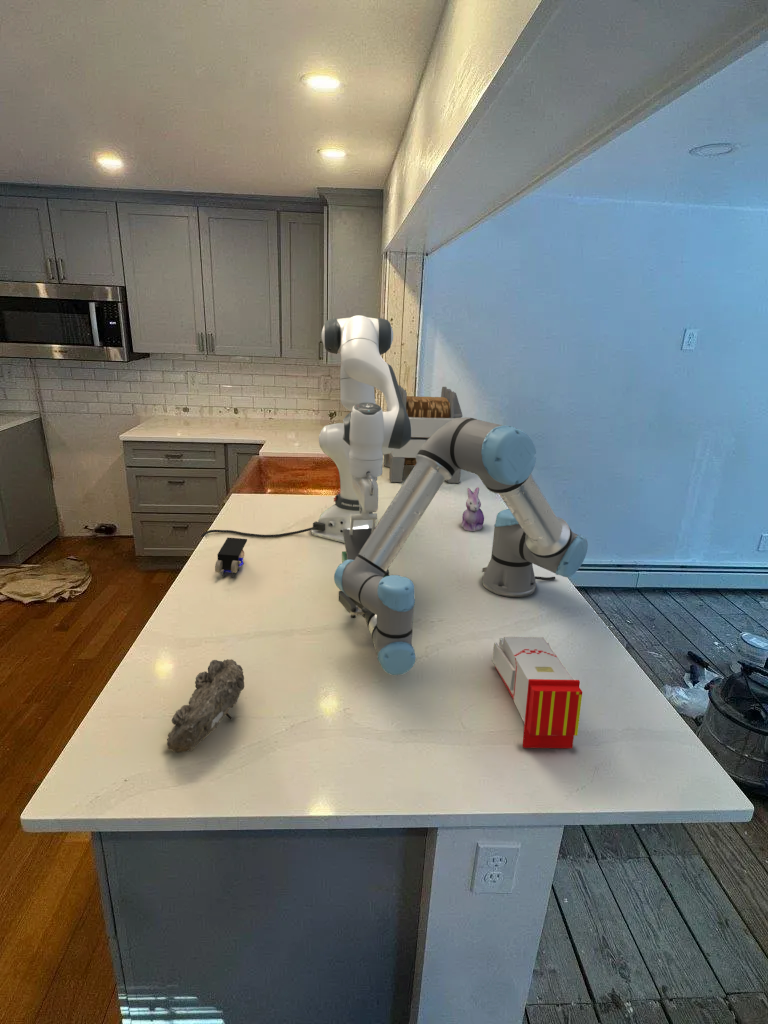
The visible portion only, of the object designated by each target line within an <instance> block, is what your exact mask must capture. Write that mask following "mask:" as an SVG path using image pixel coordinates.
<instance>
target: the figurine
mask: <svg viewBox="0 0 768 1024" xmlns="http://www.w3.org/2000/svg"><path fill="white" fill-rule="evenodd" d="M466 491H467V493H466V494H467V499H466V501H465V507H466V509H465V510H464V511H463V513H462V516H461V517H462V518H461V519H462V520H461V527H462V528H463V530H464V531H469V532H475V531H480V530H481V529H482V528H484V523H485V515H484V512H483V510H482V509H481V507H482V502H481V499H480V497H479V494H480V488H479V487H478V486H477V487H476V488H475V489H474V490H473V491H472V490H471V488H469V487H468V488H467V489H466Z"/></svg>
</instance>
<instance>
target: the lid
mask: <svg viewBox="0 0 768 1024" xmlns="http://www.w3.org/2000/svg"><path fill="white" fill-rule="evenodd" d="M350 519H351V524H350V529H343V536H344V542H345V543H344V547H345V548H344V549H345V551H346V554H347V559H348V560H355V558H356V557H357V555H358V554H359V552H360V550H361V549H362V547H363V546H364V544H365V543H366V541H367V540H368V538H369V536H370V535H371V533H372V532H373V530H374V529H375V527H376V525H377V524H376V523H377V520H378V513H377V512H373V514H369V519H366V520H373V524H372V528H367V529H353V524H354V520H363V519H362V517H361V514H351V515H350ZM385 575H390V570H389V569H388V570H387V571H386V573H385ZM385 575H384V576H385Z"/></svg>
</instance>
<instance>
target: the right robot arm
mask: <svg viewBox="0 0 768 1024" xmlns="http://www.w3.org/2000/svg"><path fill="white" fill-rule="evenodd" d="M536 454H537V449H536V444H535V443H534V440H533V438H532V437H531V436H530V435H529V434H528V433H527V432H525V431H524V430H521V429H519V428H517V427H514V426H511V425H505V424H500V423H494V422H491V421H485V420H481V419H477V418H474V417H469V416H468V417H467V416H465V417H464V416H463V417H461V418H458V419H455V420H452V421H450V422H448V423H447V424H445V425H443V426H442V427H441V428H439V429H438V430H437V431H436V432H435V433H434V434H433V435H432V436H431V437H430V438H429V439H428V440H427V441H426V442H425V443H424V445H423V446H422V448H421V449H420V450H419V452H418V454H417V455H416V462H417V463H416V465H415V466H413V468H412V470H411V471H410V472H409V474H408V476H407V478H406V479H405V480H404V482H403V483H402V484H401V487H400V488H399V490H398V491H397V493H396V495H395V496H394V497H393V499H392V501H391V502H390V504H389V505H388V507H387V509H386V510H385V511H384V513H383V515H382V516H381V518H380V519H379V521H378V523H377V524H376V525H375V529H374V530H373V532H372V533H371V535H370V536H369V538H368V540H367V541H366V543H365V544H364V546H363V547H362V549H361V550H360V552H359V554H358V555H357V557H356V558H355V560H345V561H344V562H343V563H342V562H341V563H340V564H338V566H337V567H336V569H335V571H334V576H333V580H334V584H335V586H336V587H337V589H339V591H338V599H337V600H338V602H339V603H340V604H341V605H342V606H343V608H344V609H345V610H346V611H347V612H348V613H349V615H350V619H356V618H357V616H362V617H363V618H364V619H365V622H366V625H367V628H368V631H369V635H370V637H371V640H372V643H373V647H374V650H375V652H376V655H377V656H376V657H377V660H378V662H379V665H380V666H381V668H382V670H383V671H384V672H385V673H387V674H389V675H391V676H402V675H405V674H407V673H409V672H410V671H411V670H412V669H413V667H414V666H415V664H416V659H417V656H416V653H415V652H416V651H415V648H414V646H413V642H412V640H413V625H414V624H413V622H414V611H415V603H416V598H415V584H414V581H412V579H410V578H409V577H406V576H401V575H398V574H391V575H390V574H389V576H386V577H384V578H383V576H384V575H385V573H386V571H387V570H389V568H390V566H391V565H392V564H393V562H394V561H395V559H396V557H397V556H398V554H399V553H400V551H401V550H402V548H403V547H404V545H405V543H406V541H407V540H408V538H409V537H410V536H411V533H412V532H413V531H414V529H415V527H416V526H417V524H418V523H419V521H420V519H421V518H422V516H423V515H424V514H425V512H426V510H427V508H428V507H429V506H430V504H431V503H432V501H433V500H434V498H435V497H436V495H437V493H438V491H439V490H440V488H441V487H442V486H443V484H444V482H445V481H446V480H449V479H451V478H452V476H453V474H454V473H455V472H456V471H457V470H458V469H461V471H462V470H463V471H466V472H468V473H472V474H474V475H476V476H477V477H478V478H479V479H480V481H481V482H482V483H483V485H484V486H485V488H486V489H487V490H488V491H489V492H490V493H494V494H498V495H499V497H500V498H501V499H502V501H503V503H504V504H505V505H506V507H507V508H506V509H502V510H500V511H499V512H498V513H497V514H496V518H495V522H494V525H493V526H494V529H493V539H492V548H491V556H490V557H491V558H490V560H489V561H488V564H487V566H486V567H482V570H481V573H483V575H482V580H481V583H482V586H483V587H484V588H485V589H486V590H487V591H489V592H490V593H493V594H496V595H498V596H501V597H508V598H524V597H525V598H526V597H529V596H530V595H532V594H534V593H535V592H536V586H537V583H536V582H537V581H536V580H542V581H552V580H556V576H560V577H564V578H570V577H572V576H573V575H574V574H576V573H577V572H578V571H579V569H580V567H582V565H583V563H584V561H585V559H586V556H587V553H588V548H589V542H588V539H587V538H586V536H583V535H582V534H581V533H576V532H574V531H572V529H571V527H570V525H569V524H568V522H567V521H566V520H565V519H563V518H561V517H560V516H557V515H556V514H555V512H554V509H552V507H551V505H550V503H549V502H548V499H547V498H546V497H545V494H544V493H543V492H542V489H541V488H540V487H539V484H538V483H537V481H536V479H535V478H534V476H533V471H534V469H535V465H536V463H537V462H536V461H537V457H536V456H535V455H536ZM533 565H535V566H538V567H539V568H541V569H544V570H547V571H549V572H551V573H553V574H555V575H556V576H549V577H547V576H546V577H545V576H535V571H534V567H533ZM358 607H359V608H360V609H359V608H358Z"/></svg>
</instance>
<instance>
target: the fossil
mask: <svg viewBox="0 0 768 1024" xmlns="http://www.w3.org/2000/svg"><path fill="white" fill-rule="evenodd" d="M243 670H244V669H243V667H242V665H240V664H237V662H236V661H235V660H234V659H232V658H231V659H227V658H226V659H224V660H223V661H222V660H217V659H212V660H211V661H210V663H209V665H208V666H207V671H201V672H199V673H198V674H197V675H196V676H195V680H194V684H195V685H194V687H195V689H194V690H193V693H192V694H191V697H190V698H189V700H188V704H184V705H182V706H181V707H180V709H177V710H176V711H175V713H174V715H173V716H172V718H171V723H172V724H173V727H172V730H171V731H170V732H168V734H167V738H166V741H167V742H166V745H167V749H168V750H169V751H173V752H174V753H176V754H178V753H182V752H188V751H189V752H192V751H193V750H195V748H196V747H197V746H199V744H200V743H201V742H203V741H204V740H205V739H206V738H207V737H208V736H209V735H210V734H211V733H212V732H214V730H215V729H217V727H218V726H219V724H220V722H221V721H222V720H223V719H224V718H225V716H226V717H227V719H229V720H233V717H232V715H230V714H229V710H230V709H231V708H234V706H235V704H236V703H237V702H238V699H239V697H240V695H241V693H242V691H243V690H245V689H244V688H245V675H244V671H243Z"/></svg>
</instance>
